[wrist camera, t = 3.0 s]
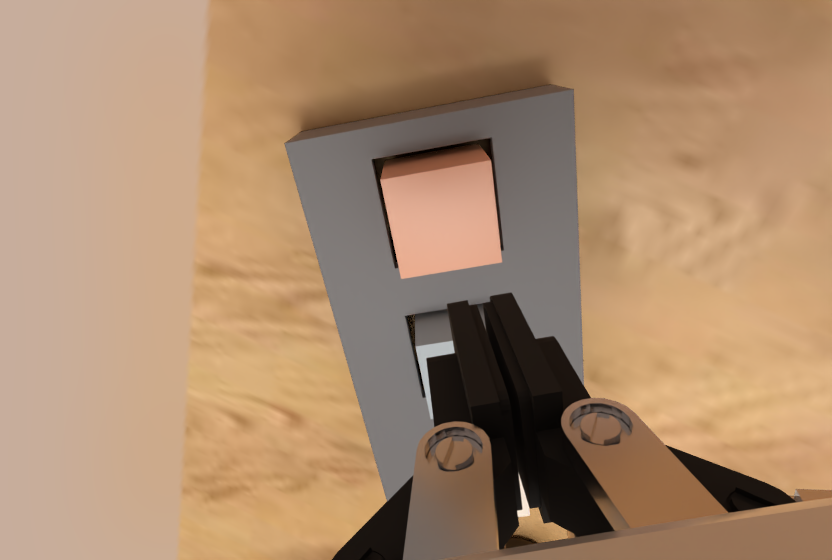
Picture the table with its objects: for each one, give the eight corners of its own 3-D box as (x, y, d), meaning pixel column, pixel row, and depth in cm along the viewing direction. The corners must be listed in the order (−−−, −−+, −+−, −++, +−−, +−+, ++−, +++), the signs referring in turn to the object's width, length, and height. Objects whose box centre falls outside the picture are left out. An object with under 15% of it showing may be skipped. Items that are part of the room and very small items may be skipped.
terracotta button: (478, 143, 25) (490, 160, 21) (488, 232, 27) (502, 262, 23) (385, 160, 26) (380, 179, 22) (402, 246, 28) (401, 279, 24)
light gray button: (496, 293, 29) (509, 331, 25) (504, 361, 31) (517, 406, 27) (414, 306, 29) (415, 346, 25) (428, 373, 31) (430, 419, 27)
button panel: (550, 84, 26) (573, 89, 22) (570, 452, 37) (587, 494, 34) (301, 131, 27) (284, 143, 23) (394, 476, 38) (392, 520, 35)
